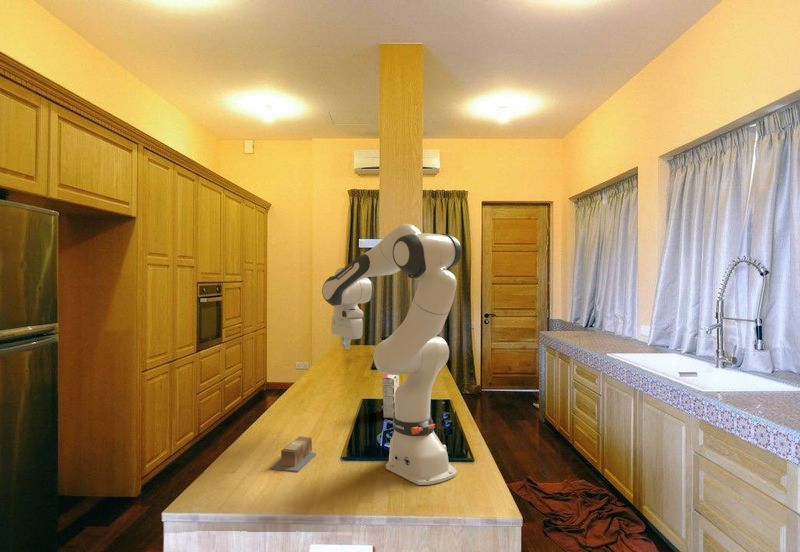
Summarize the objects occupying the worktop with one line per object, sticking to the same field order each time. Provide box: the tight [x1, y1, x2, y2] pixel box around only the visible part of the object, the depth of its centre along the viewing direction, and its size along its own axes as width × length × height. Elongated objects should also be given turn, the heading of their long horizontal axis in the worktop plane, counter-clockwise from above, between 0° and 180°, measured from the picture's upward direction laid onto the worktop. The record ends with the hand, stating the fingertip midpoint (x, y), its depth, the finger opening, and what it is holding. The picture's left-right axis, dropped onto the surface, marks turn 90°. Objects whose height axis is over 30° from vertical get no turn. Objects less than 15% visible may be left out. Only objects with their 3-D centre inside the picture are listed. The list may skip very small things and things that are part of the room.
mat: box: [270, 452, 317, 473], centre depth 139 cm, size 13×9×1 cm
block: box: [280, 435, 313, 467], centre depth 141 cm, size 5×4×12 cm
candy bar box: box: [382, 374, 400, 419], centre depth 185 cm, size 11×5×16 cm, turn 168°
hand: (346, 348), depth 165 cm, fingers closed
